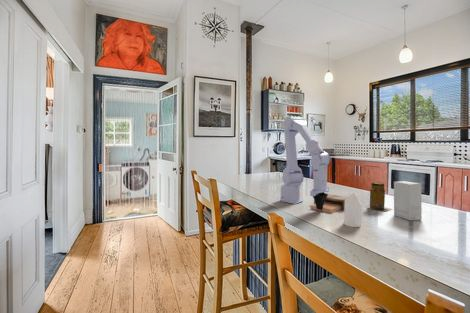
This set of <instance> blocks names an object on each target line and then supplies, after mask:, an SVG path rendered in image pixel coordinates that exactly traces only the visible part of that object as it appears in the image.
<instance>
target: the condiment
mask: <svg viewBox="0 0 470 313" xmlns="http://www.w3.org/2000/svg"><path fill="white" fill-rule="evenodd" d="M370 185H371V187H370V190H369V206H367V207H365V208H366V209H369V210H376V211H382V212H389V211H390V210H392V208H390V207H385V202H386V201H385V198H386V190H385V184H384V183H382V182H377V181H375V182H371V184H370Z"/></svg>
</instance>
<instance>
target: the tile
mask: <svg viewBox="0 0 470 313" xmlns="http://www.w3.org/2000/svg"><path fill="white" fill-rule="evenodd" d="M342 208H343V204H342V203H336V202H331V201H325V202H324V205H323V209H322V210H319V209H317V208H316V204H314V203H313V204H312V205H310V210H314V211H320V212H324V213H327V214H328V213H329V214H333V213H336V212H338V211H340V210H341V209H342Z"/></svg>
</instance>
